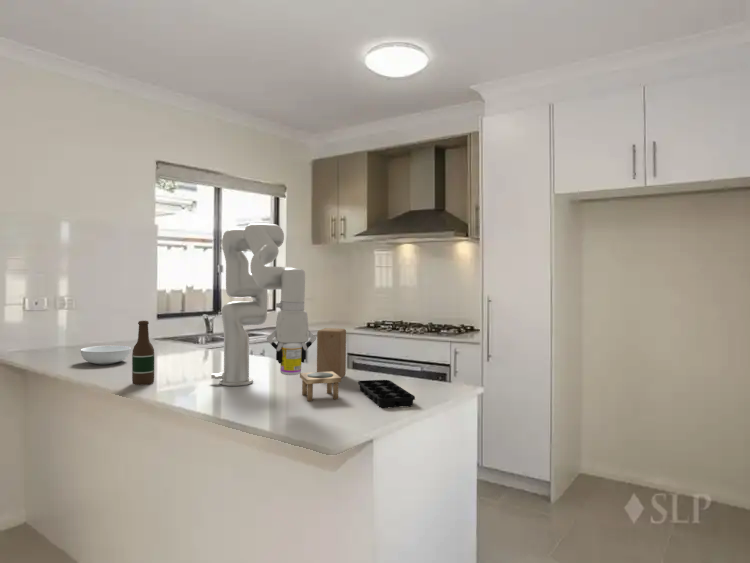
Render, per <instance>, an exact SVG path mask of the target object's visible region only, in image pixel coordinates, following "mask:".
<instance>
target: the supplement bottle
mask: <svg viewBox="0 0 750 563" xmlns="http://www.w3.org/2000/svg"><path fill="white" fill-rule="evenodd" d="M281 351H282V363H280V374H281V375H283V376H284V375H285V376H298V375H300V373H302V362H301V359H302V344H301V343H283V345H282V347H281Z"/></svg>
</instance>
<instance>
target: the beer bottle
mask: <svg viewBox="0 0 750 563" xmlns="http://www.w3.org/2000/svg"><path fill="white" fill-rule="evenodd" d="M137 324H138V334H137V342H136V343H135V345H134V346H133V348H132V353H131V355H132V356H131V357H132V358H131V368H132V369H131V372H132V373H131V375H132V376H131V380H132V381H131V382H132V384H133V385H134V386H145V385H153V383H154V382H155V348H154V346H153V344H152V343H151V342H150V336H149V334H150V332H149V320H138V323H137Z"/></svg>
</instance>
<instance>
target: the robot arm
mask: <svg viewBox="0 0 750 563" xmlns="http://www.w3.org/2000/svg"><path fill="white" fill-rule="evenodd" d="M284 240H285V234H284V231H283V229H282V228H281V226H280V225H278V224H273V223H260V222H259V223H258V222H256V223H255V222H253V223H250V224H248V225H246V227H245V228H242V227H241V228H239V227H238V228H230V229H227V230H225V232H224V233H223V235H222V240H221V245H222V246H221V247H222V252H223V255H224V259H225V291H226V294H227V296H228V297H230V298H233V299H234V298H235V299H251V298H252V300H250V301H249V300H248V301H247V300H246V301H245V300H244V301H242V300H239V301H230V302H227V303H225V304H224V305H223V306H222V308H221V313H220V314H221V320H222V326H223V327H222V328H223V370H222V372H219V373H215V372H214V373H211V374H210V376H211V379H215V380H219V379H220V380H219V384H220V385H222V386H225V387H226V386H229V387H238V386H239V387H240V386H247V385H251V384H253V382H254V379H253V378H252V377H250V337H249V334H248V332H247V331H246V329H245V328H244V327H245V326H247V327H249V326H260V325H263V324H264V323H265V322H266V320H267V318H268V291H269V290H272V291H273V290H280V302H277V303H275V307H276V308H278V309H279V310H278V312H277V317H276V325H275V330H273V332H272V333H270V335H268V336H267V337H266V340H267V342H268V343H269V344H270V345H271V347H272V348H274V349H275V350H276V351H275V352H276V354H275V360H276V361H277V363H278V364H280V365H281V363H282V351H281V347H282V345H283V343H301V344H302V359H301V364H302V363H305V360H307V350H308V349H309V348H310V347H311V346H312V344H313V343H315V341H317V336H315V335H314V334H313V333H312V332H311V331H309V317H308V312H307V310H305V297H306V294H305V292H306V272H305V270H304V269H303V268H295V267H292V266H267V265H268V264H270V263H272V262H274V260H276V259H277V257H278V256H279V247H282V245H283V243H284ZM244 252H251V253H252V254H253V256H252V258H251V260H250V263H249V259H248V258H247V256H246V254H244ZM249 264H250V270H249ZM249 272H250V273H249ZM274 338H275V340H276V341H277V343H276V342H275V341H274V340H273V339H274Z"/></svg>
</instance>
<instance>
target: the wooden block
mask: <svg viewBox="0 0 750 563" xmlns="http://www.w3.org/2000/svg"><path fill="white" fill-rule="evenodd" d="M346 344H347V331H346V329H345V328H337V327H334V328H333V327H325V328H321V329H319V330H317V331H316V372H330V371H333V372H334V373H335V374H337V375H338V376H340V377H341V379H343V378H344V377H345V376H346V375H347V374H346V371H347V370H346V368H347V366H346V365H347V364H346V363H347V362H346V361H347V349H346V348H347V345H346Z"/></svg>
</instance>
